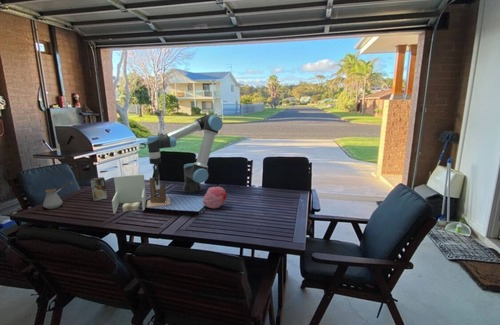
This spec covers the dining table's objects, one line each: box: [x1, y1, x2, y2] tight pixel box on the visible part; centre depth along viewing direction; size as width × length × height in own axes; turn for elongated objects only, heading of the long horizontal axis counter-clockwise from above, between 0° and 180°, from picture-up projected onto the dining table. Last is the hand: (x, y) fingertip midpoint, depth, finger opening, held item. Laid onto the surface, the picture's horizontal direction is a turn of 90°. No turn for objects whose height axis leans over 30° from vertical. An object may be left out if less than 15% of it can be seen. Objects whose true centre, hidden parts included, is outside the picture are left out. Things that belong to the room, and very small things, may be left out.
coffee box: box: [90, 176, 108, 202], centre depth 209 cm, size 9×6×16 cm
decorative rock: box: [202, 186, 228, 210], centre depth 187 cm, size 19×14×15 cm
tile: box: [146, 197, 172, 208], centre depth 198 cm, size 16×14×1 cm
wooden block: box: [148, 177, 167, 203], centre depth 197 cm, size 4×11×18 cm, turn 86°
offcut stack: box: [121, 201, 141, 212], centre depth 188 cm, size 11×8×4 cm
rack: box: [111, 173, 147, 215], centre depth 191 cm, size 20×22×20 cm
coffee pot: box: [42, 181, 73, 210], centre depth 196 cm, size 21×12×15 cm, turn 159°
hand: (157, 186), depth 196 cm, fingers open, 13 cm apart
